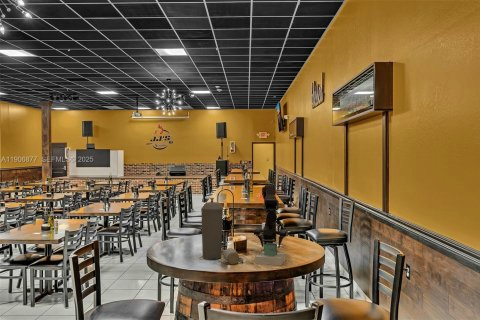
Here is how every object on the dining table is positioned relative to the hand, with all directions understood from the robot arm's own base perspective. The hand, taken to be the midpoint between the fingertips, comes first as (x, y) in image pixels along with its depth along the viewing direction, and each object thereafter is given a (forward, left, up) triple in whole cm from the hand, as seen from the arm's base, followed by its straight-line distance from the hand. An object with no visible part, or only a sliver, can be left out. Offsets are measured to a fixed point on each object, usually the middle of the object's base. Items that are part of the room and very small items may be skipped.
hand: (270, 247), depth 241 cm
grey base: (0, 0, -8) cm, 8 cm away
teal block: (0, 0, -4) cm, 4 cm away
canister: (+1, -35, -8) cm, 36 cm away
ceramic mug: (+8, -19, -8) cm, 22 cm away
